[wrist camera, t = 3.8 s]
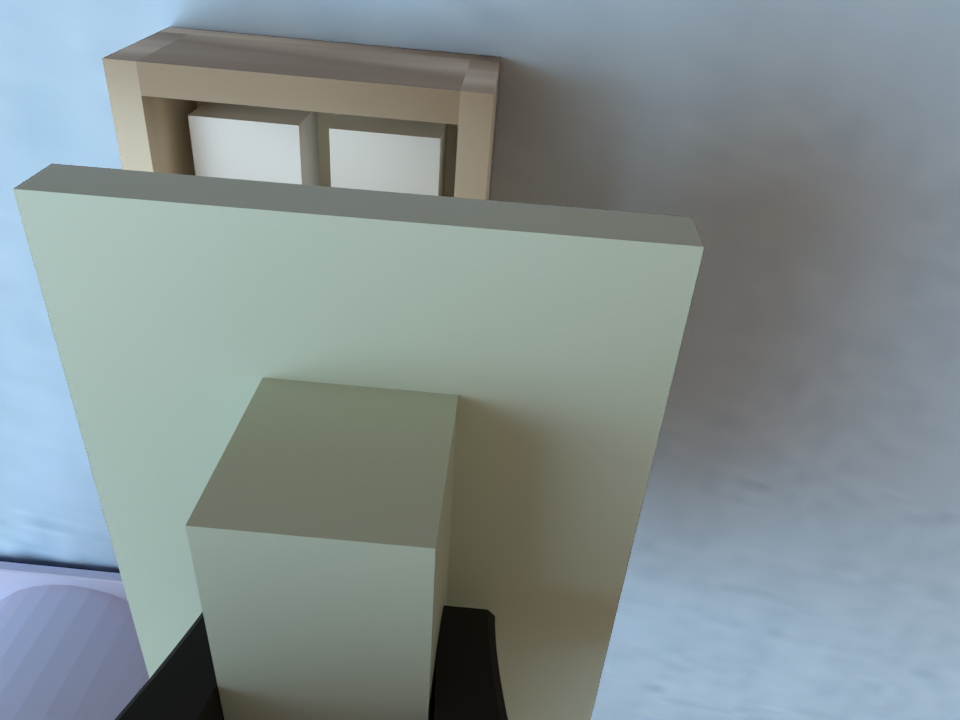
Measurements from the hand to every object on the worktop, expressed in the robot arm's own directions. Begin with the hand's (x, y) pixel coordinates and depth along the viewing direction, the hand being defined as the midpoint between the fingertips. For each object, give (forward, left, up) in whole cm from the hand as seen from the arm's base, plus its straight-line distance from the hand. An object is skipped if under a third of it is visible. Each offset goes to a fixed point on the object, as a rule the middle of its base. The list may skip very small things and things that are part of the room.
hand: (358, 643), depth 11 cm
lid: (0, 0, -2) cm, 2 cm away
